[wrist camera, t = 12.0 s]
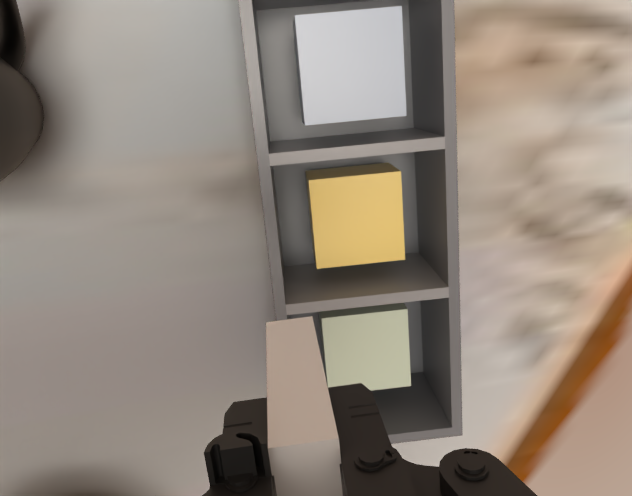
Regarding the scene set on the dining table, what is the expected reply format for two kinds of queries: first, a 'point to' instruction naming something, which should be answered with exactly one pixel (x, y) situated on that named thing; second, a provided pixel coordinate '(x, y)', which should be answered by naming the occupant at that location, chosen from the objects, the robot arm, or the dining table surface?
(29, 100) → the mug
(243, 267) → the dining table surface
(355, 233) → the key
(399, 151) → the compartment tray
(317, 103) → the key
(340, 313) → the key
